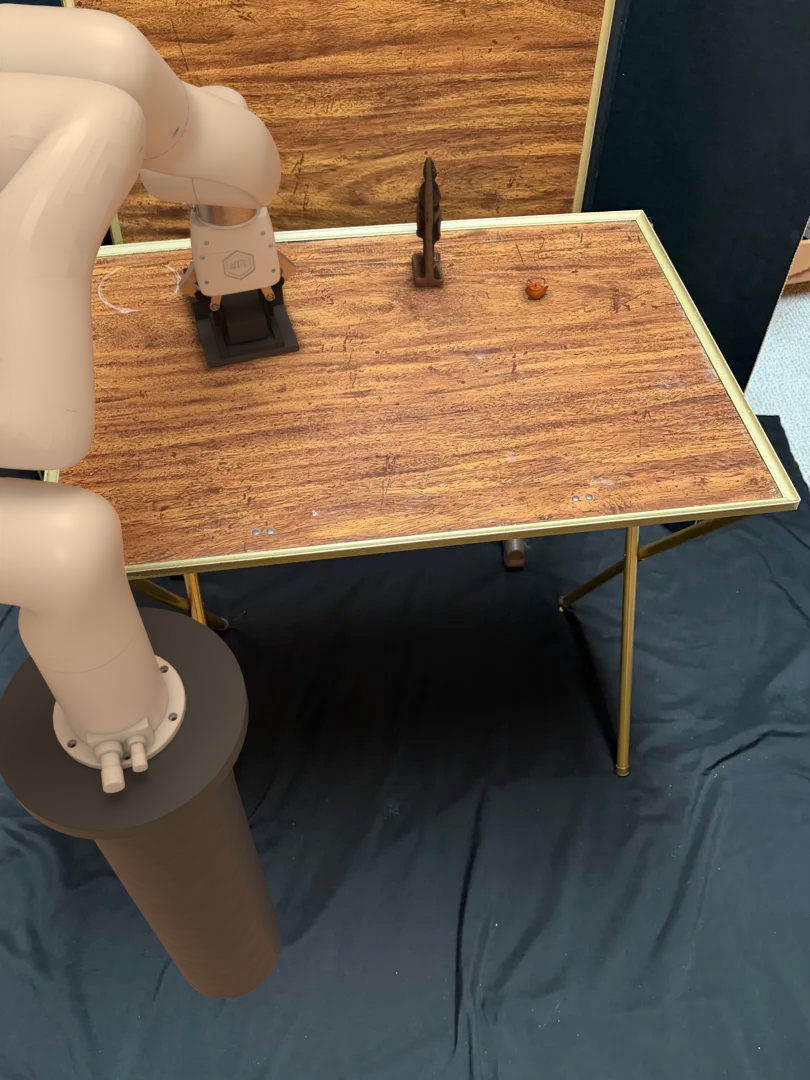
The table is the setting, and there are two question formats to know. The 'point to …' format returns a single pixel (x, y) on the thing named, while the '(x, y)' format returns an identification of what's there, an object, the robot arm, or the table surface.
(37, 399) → the robot arm
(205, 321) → the pad base
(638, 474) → the table surface
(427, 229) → the statue
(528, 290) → the small kettle
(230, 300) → the loose pad
